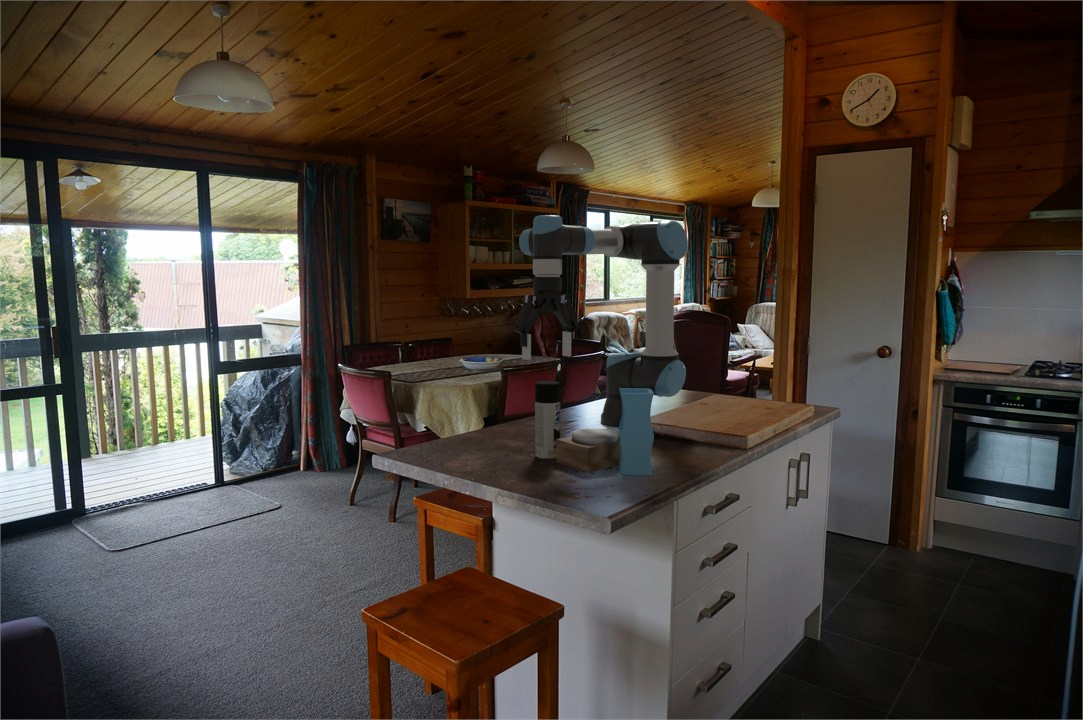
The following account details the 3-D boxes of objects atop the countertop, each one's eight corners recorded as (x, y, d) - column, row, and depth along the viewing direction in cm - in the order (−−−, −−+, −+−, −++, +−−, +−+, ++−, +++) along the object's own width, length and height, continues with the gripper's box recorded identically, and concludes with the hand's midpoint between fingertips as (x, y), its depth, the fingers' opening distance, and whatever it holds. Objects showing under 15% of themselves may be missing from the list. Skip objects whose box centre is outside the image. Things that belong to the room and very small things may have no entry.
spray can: (557, 460, 184) (558, 384, 181) (532, 458, 185) (532, 383, 183) (562, 454, 190) (562, 380, 188) (537, 452, 191) (537, 380, 189)
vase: (617, 466, 178) (618, 388, 175) (649, 466, 177) (650, 388, 175) (620, 475, 170) (621, 393, 168) (653, 475, 170) (654, 393, 167)
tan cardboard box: (601, 452, 192) (601, 425, 191) (633, 461, 182) (633, 433, 181) (556, 462, 182) (556, 433, 181) (587, 472, 172) (588, 442, 172)
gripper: (574, 276, 193) (573, 353, 195) (499, 275, 177) (499, 359, 180) (592, 276, 187) (591, 355, 189) (517, 275, 172) (517, 362, 174)
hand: (547, 357), depth 185 cm, fingers open, 13 cm apart
